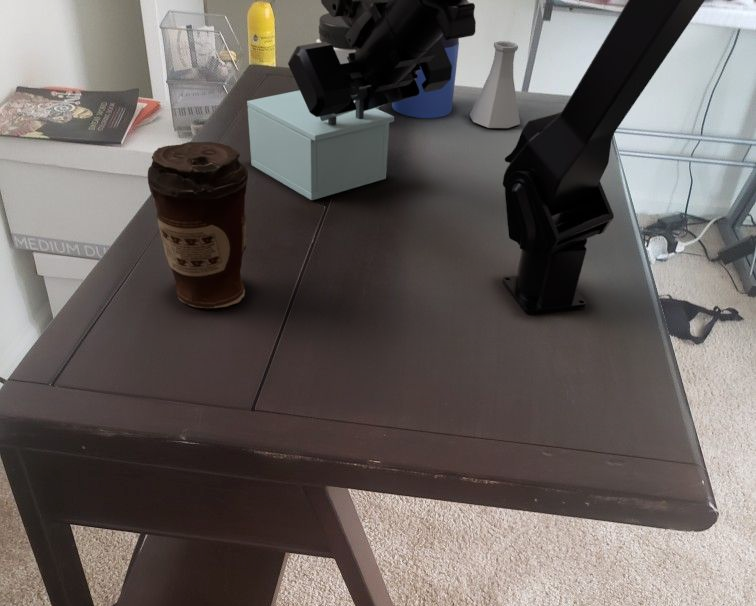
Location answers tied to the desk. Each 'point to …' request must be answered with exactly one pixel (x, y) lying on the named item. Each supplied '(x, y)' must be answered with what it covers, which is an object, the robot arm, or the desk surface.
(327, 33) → the jar
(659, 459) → the desk surface
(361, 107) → the lid
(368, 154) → the pale teal lidded box
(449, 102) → the water bottle
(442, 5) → the robot arm
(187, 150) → the coffee cup
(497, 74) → the flask
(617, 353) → the desk surface
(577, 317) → the desk surface
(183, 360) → the desk surface
